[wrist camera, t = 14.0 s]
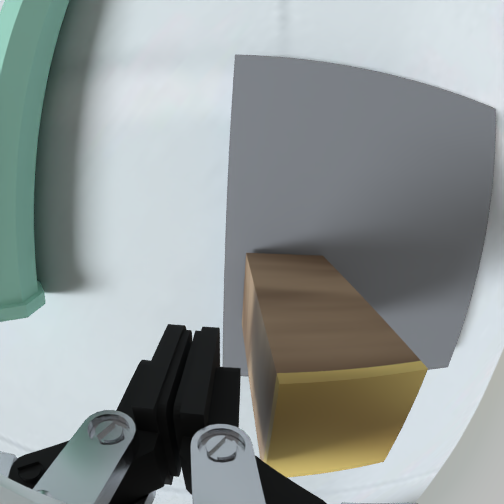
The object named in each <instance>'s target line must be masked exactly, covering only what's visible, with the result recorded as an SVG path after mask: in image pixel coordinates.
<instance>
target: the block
mask: <svg viewBox="0 0 504 504" xmlns="http://www.w3.org/2000/svg"><path fill="white" fill-rule="evenodd" d="M242 329H243V337H244V345H245V352H246V360H247V367H248V375H249V382H250V390H251V397H252V404H253V411H254V418H255V425H256V432H257V439H258V446H259V453H260V459H261V460H262V461H263V462H265V463H266V464H268V465H269V466H271V467H272V468H273V469H275V470H276V471H278V472H279V473H281V474H282V475H284V476H285V477H296V476H305V475H313V474H321V473H328V472H334V471H340V470H346V469H352V468H357V467H362V466H367V465H371V464H376V463H380V462H384V460H385V458H386V457H387V455H388V453H389V451H390V449H391V448H392V446H393V444H394V442H395V440H396V438H397V436H398V434H399V432H400V430H401V428H402V426H403V424H404V422H405V420H406V418H407V416H408V414H409V412H410V410H411V407H412V405H413V403H414V401H415V399H416V396H417V394H418V392H419V389H420V387H421V385H422V382H423V380H424V377H425V375H426V372H427V370H428V368H427V367H426V366H425V365H424V364H423V363H422V361H421V360H420V359H419V358H418V357H417V356H416V355H415V353H414V352H413V351H412V350H411V349H410V348H409V347H408V346H407V345H406V343H405V342H404V341H403V340H402V339H401V338H400V337H399V336H398V335H397V333H396V332H395V331H394V330H393V329H392V328H391V327H390V326H389V325H388V324H387V323H386V321H385V320H384V319H383V318H382V317H381V316H380V315H379V314H378V313H377V312H376V311H375V310H374V309H373V307H372V306H371V305H370V304H369V303H368V302H367V301H366V300H365V299H364V298H363V297H362V296H361V295H360V294H359V293H358V292H357V290H356V289H355V288H354V287H353V286H352V285H351V284H350V283H349V282H348V281H347V280H346V279H345V278H344V277H343V276H342V275H341V274H340V273H339V272H338V271H337V270H336V269H335V268H334V267H333V266H332V265H331V264H330V262H329V261H328V260H327V259H326V258H325V257H324V256H319V255H292V254H266V253H246V263H245V278H244V294H243V311H242Z"/></svg>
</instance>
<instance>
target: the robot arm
mask: <svg viewBox="0 0 504 504" xmlns="http://www.w3.org/2000/svg"><path fill="white" fill-rule="evenodd" d="M240 375H241V368H232V367H220V329H219V328H214V327H202V330H201V331H195V334H194V338H193V341H192V332H191V330H186V327H185V326H184V325H171V324H168V326H167V328H166V330H165V332H164V334H163V336H162V338H161V340H160V343H159V345H158V347H157V349H156V351H155V354H154V356H153V358H152V360H151V361H148V360H142V361H141V362H140V363H139V365H138V367H137V369H136V371H135V373H134V375H133V377H132V379H131V381H130V383H129V385H128V387H127V389H126V391H125V394H124V396H123V398H122V400H121V402H120V404H119V406H118V408H117V410H116V411H115V410H104V411H100V412H96V413H95V414H93V415H91V416H89V417H88V418H87V419H86V420H85V421H84V423H83V424H82V425H81V427H80V428H79V429H78V430H77V432H76V433H75V434H74V436H73V437H72V438H71V439H70V440H69V441H67V442H64V443H61V444H58V445H55V446H52V447H49V448H45V449H42V450H39V451H36V452H33V453H29V454H26V455H24V456H21V457H19V458H17V457H16V456H15V455H14V454H9V453H5V452H1V451H0V504H152V503H153V501H154V498H155V494H156V491H155V490H157V489H159V488H161V487H163V486H164V484H169V485H172V480H173V476H177V477H179V475H180V472H181V466H182V471H183V476H184V481H185V485H186V489H187V490H188V491H189V492H190V493H191V494H192V498H193V504H327V503H325V502H324V501H323V500H322V499H320V498H318V497H317V496H315V495H313V494H312V493H310V492H308V491H307V490H305V489H304V488H302V487H301V486H299V485H297V484H296V483H294V482H293V481H291V480H290V479H288V478H287V477H285V476H284V475H282V474H281V473H279V472H278V471H276V470H275V469H273V468H272V467H271V466H269V465H268V464H266V463H265V462H263V461H262V460H261V459H259V458H258V457H257V456H255V454H254V450H253V445H252V442H251V439H250V437H249V436H248V435H247V434H246V433H245V432H244V431H243V430H241V429H240V428H238V427H239V403H240ZM341 504H418V503H343V502H342V503H341Z"/></svg>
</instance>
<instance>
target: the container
mask: <svg viewBox="0 0 504 504" xmlns="http://www.w3.org/2000/svg"><path fill="white" fill-rule="evenodd" d="M69 1H70V0H5V2H4V4H3V7H2V10H1V12H0V322H2V321H8V320H15V319H21V318H27V317H29V316H30V315H31V314H33V313H34V312H35V311H36V310H38V309H39V308H40V307H41V306H43V305H44V304H45V295H44V290H43V288H42V286H41V283H40V282H39V281H37V275H36V262H35V244H34V184H35V167H36V154H37V144H38V135H39V127H40V119H41V112H42V106H43V100H44V95H45V89H46V84H47V79H48V74H49V70H50V65H51V61H52V57H53V53H54V49H55V45H56V42H57V38H58V35H59V31H60V28H61V25H62V21H63V18H64V15H65V12H66V9H67V6H68V3H69Z"/></svg>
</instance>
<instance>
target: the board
mask: <svg viewBox="0 0 504 504" xmlns="http://www.w3.org/2000/svg"><path fill="white" fill-rule="evenodd" d="M495 135H496V110H495V108H492V107H490V106H488V105H485V104H483V103H480V102H477V101H475V100H472V99H469V98H467V97H464V96H461V95H458V94H455V93H453V92H450V91H447V90H443V89H440V88H437V87H434V86H431V85H427V84H424V83H420V82H417V81H413V80H410V79H406V78H402V77H398V76H394V75H390V74H385V73H381V72H377V71H372V70H367V69H362V68H357V67H351V66H346V65H340V64H334V63H327V62H320V61H312V60H304V59H295V58H285V57H272V56H257V55H235V64H234V78H233V94H232V110H231V127H230V146H229V165H228V187H227V211H226V238H225V270H224V312H223V367H232V368H241V375H240V376H249V375H248V367H247V360H246V352H245V345H244V337H243V329H242V311H243V294H244V278H245V263H246V253H266V254H292V255H319V256H324V257H325V258H326V259H327V260H328V261H329V262H330V264H331V265H332V266H333V267H334V268H335V269H336V270H337V271H338V272H339V273H340V274H341V275H342V276H343V277H344V278H345V279H346V280H347V281H348V282H349V283H350V284H351V285H352V286H353V287H354V288H355V289H356V290H357V292H358V293H359V294H360V295H361V296H362V297H363V298H364V299H365V300H366V301H367V302H368V303H369V304H370V305H371V306H372V307H373V309H374V310H375V311H376V312H377V313H378V314H379V315H380V316H381V317H382V318H383V319H384V320H385V321H386V323H387V324H388V325H389V326H390V327H391V328H392V329H393V330H394V331H395V332H396V333H397V335H398V336H399V337H400V338H401V339H402V340H403V341H404V342H405V343H406V345H407V346H408V347H409V348H410V349H411V350H412V351H413V352H414V353H415V355H416V356H417V357H418V358H419V359H420V360H421V361H422V363H423V364H424V365H425V366H426V367H427V368H428V370H430V369H438V368H445V367H448V365H449V362H450V360H451V357H452V355H453V352H454V349H455V346H456V344H457V341H458V338H459V335H460V332H461V329H462V326H463V323H464V320H465V317H466V313H467V310H468V307H469V303H470V300H471V296H472V293H473V289H474V285H475V281H476V277H477V273H478V269H479V264H480V260H481V255H482V250H483V245H484V240H485V235H486V229H487V223H488V216H489V210H490V202H491V194H492V184H493V173H494V159H495Z"/></svg>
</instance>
